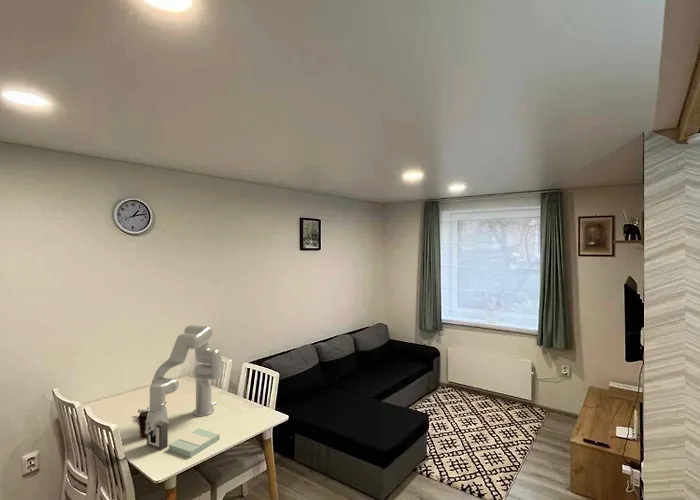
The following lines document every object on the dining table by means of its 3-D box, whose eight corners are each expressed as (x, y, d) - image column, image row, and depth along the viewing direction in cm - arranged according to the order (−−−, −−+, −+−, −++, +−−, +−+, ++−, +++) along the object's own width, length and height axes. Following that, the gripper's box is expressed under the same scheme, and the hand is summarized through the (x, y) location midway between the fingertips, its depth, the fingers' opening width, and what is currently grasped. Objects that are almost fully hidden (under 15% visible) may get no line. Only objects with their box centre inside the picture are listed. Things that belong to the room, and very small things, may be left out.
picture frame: (153, 442, 209) (153, 418, 209) (167, 446, 205) (167, 422, 204) (146, 445, 205) (146, 421, 205) (160, 450, 201) (161, 426, 201)
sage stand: (198, 433, 219) (198, 427, 219) (219, 439, 213) (219, 433, 213) (168, 450, 201) (168, 443, 201) (190, 457, 194) (190, 451, 194)
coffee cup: (151, 430, 222) (151, 408, 222) (157, 435, 217) (158, 412, 217) (135, 436, 215) (135, 413, 215) (141, 441, 210) (141, 417, 210)
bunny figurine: (140, 418, 229) (136, 407, 241) (140, 426, 230) (135, 414, 241) (157, 414, 235) (152, 403, 247) (157, 422, 235) (152, 410, 247)
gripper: (165, 399, 214) (165, 432, 214) (138, 411, 199) (138, 446, 199) (175, 402, 211) (175, 435, 211) (148, 414, 196) (147, 449, 196)
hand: (157, 440), depth 205 cm, fingers closed on picture frame, 4 cm apart
